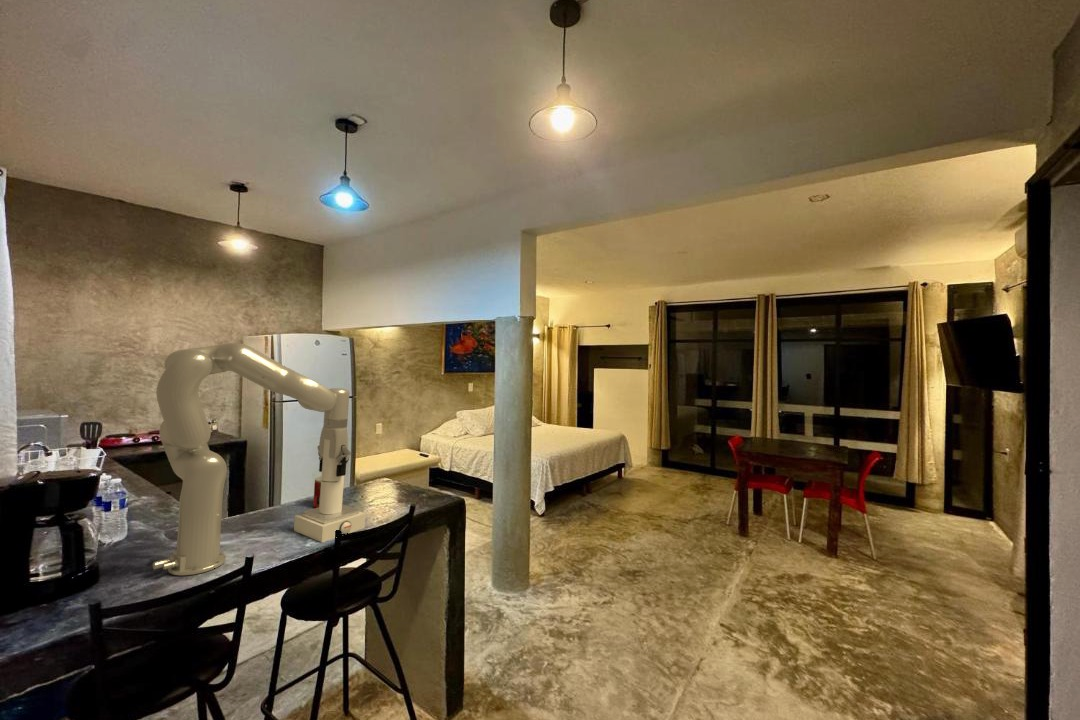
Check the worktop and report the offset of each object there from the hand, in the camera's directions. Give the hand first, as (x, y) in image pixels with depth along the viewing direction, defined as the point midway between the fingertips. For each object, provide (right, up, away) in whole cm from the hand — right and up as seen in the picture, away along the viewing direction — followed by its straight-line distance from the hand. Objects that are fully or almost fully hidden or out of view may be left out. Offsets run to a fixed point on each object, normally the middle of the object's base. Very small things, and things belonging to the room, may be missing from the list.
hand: (332, 473), depth 150 cm
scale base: (-1, -19, 0) cm, 19 cm away
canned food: (-15, -19, +23) cm, 34 cm away
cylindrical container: (-1, -13, 0) cm, 13 cm away
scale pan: (0, -14, 0) cm, 14 cm away
